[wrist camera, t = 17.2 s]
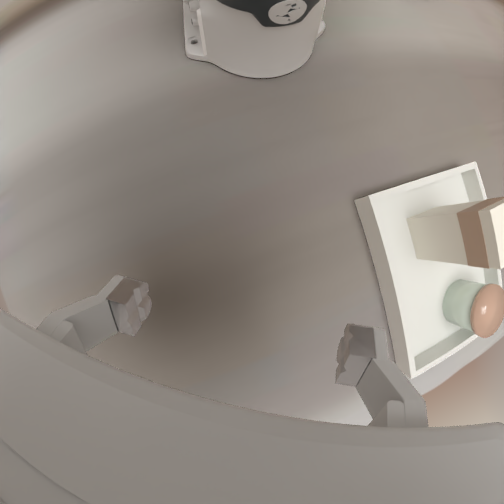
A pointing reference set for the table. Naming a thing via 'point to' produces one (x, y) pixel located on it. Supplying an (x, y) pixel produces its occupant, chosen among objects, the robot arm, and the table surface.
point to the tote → (419, 266)
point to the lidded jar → (474, 306)
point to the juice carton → (461, 233)
